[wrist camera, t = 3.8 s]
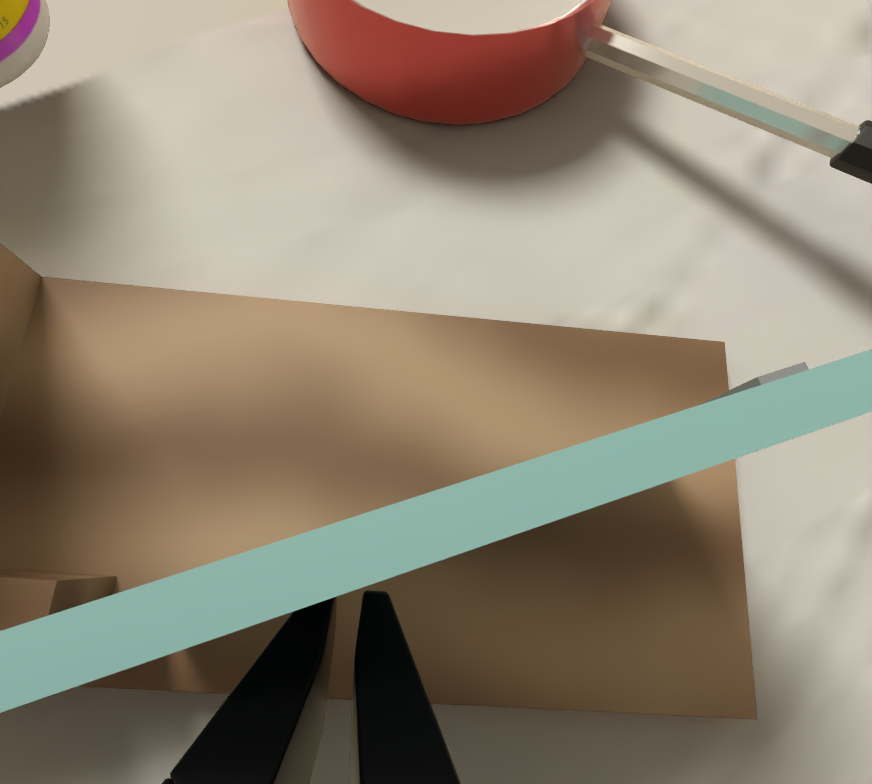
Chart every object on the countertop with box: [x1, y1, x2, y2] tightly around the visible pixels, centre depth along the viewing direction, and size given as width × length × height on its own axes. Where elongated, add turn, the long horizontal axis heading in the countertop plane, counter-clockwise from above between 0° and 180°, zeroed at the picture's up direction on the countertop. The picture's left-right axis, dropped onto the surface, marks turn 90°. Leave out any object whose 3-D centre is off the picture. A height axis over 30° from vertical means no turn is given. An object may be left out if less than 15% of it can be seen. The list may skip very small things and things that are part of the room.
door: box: [0, 349, 872, 713], centre depth 12 cm, size 1×17×10 cm, turn 108°
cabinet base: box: [0, 243, 757, 719], centre depth 12 cm, size 12×24×12 cm, turn 86°
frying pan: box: [288, 0, 872, 184], centre depth 20 cm, size 32×13×6 cm, turn 60°
